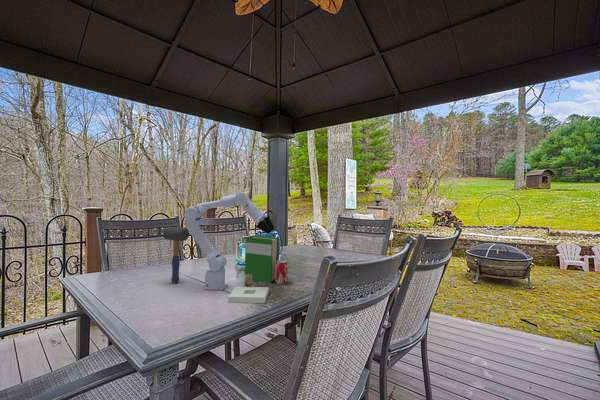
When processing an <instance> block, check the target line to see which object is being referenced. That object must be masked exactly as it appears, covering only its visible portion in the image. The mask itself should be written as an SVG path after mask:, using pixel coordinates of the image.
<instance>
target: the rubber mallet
mask: <svg viewBox="0 0 600 400" xmlns="http://www.w3.org/2000/svg"><path fill="white" fill-rule="evenodd" d="M162 232H163V233H162V236H163V238H164V240H168V241H173V248H172V249H173V250H172V259H171V269H172V272H171V282H172V283H173V284H177V283H179V281H180V272H179V271H180V255H179V242H183V241H184V242H185V241H187V240H188V239H189V236H190V232H189V231H188V229H187V227H183V226H182V227H181V226H167V227H165V228H164V230H163V231H162Z"/></svg>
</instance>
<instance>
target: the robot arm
mask: <svg viewBox="0 0 600 400" xmlns="http://www.w3.org/2000/svg"><path fill="white" fill-rule="evenodd" d="M238 205H240V206H241V208H242V210H244V211H245V212H246V214H247V215H248V216H249V217H250V218H251V219H252V220H253V222H254V223H255V224H256V225H255V228H256V229H259V230H261V231H263V232H264V233H266V234H267V235H270V234H271V232H272V231H273V230H275V229H276V228H275V225H274V224H273V222H272V220H271V217H270V215H268V216H267V215H266V214H267V213H266V212H264V213H263V212H262V211H261V209H259V207H257V205H256V204H255V203H254V202H253V201H252V200H251V199H250V198H249V196H248V195H247V194H246V193H244V192H238V193H236V192H235V193H233V194H231V195H228V194H224V195H223V196H222V197H221V198H220V199H219V200H213V201H206V202H201V203H198V204H194V205H193V206H188V207H187V208H186V209H185V211H184V214H183V218H184V219H185V220H184V221H185V228H187V229H188V231H189V235H190V236H191V237H192V238H193V240H194V241H195V242H196V244H197V245H198V247H199V248H200V249H201V250H202V252H203V253H204V255H205V256H206V261H207V263H208V267H209V269H207V270H206V271H205V274H204V288H203V289H204V290H215V291H224V290H225V288H226V287H227V286H228V284H227V283H226V267H225V266H226V265H227V258H226V257H225V256H224V255H222V254H221V253H220V252H219V251H218V250H216V249H215V247H214V246H213V244H212V243H211V242H210V240H209V238H208V237H207V236H206V235H205V232H204V231H203V230H202V229H201V227H200V226H199V224H200V221H201V220H202V218H203V217H204V215H205V213H206V212H207V211H208V210H209V209H210V210H211V209H215V208H218V207H223V208H231V207H235V206H238Z"/></svg>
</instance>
